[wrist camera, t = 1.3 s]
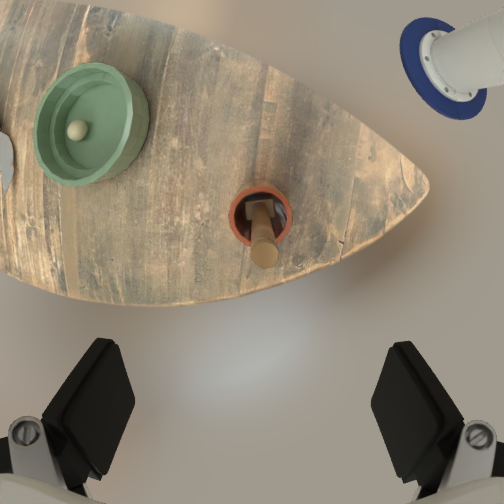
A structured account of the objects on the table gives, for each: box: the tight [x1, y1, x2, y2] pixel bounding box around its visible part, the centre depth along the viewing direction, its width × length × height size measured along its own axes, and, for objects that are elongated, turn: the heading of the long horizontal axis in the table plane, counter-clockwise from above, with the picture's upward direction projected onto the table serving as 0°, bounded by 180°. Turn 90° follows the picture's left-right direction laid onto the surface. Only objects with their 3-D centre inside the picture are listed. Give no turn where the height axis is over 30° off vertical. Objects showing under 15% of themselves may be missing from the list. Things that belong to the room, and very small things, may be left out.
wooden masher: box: [245, 193, 279, 269], centre depth 26 cm, size 3×2×20 cm, turn 97°
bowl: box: [33, 62, 150, 187], centre depth 30 cm, size 16×16×6 cm
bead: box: [67, 120, 88, 141], centre depth 31 cm, size 3×3×3 cm
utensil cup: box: [229, 179, 293, 246], centre depth 31 cm, size 6×6×10 cm
